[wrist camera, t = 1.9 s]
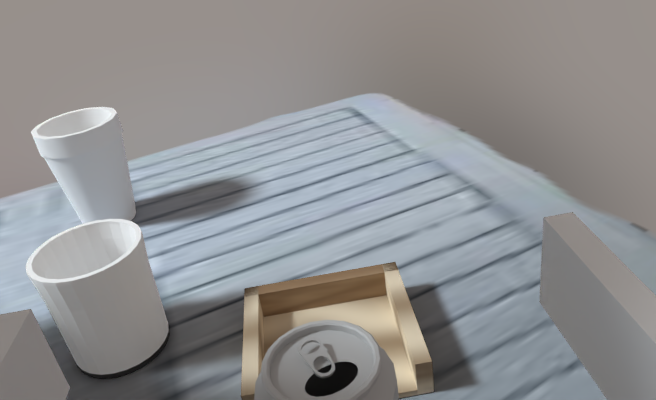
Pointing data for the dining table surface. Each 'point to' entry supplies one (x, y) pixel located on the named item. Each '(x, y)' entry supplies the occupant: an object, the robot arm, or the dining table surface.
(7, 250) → the dining table surface
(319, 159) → the dining table surface
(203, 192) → the dining table surface
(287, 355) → the can
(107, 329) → the mug
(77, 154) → the foam cup
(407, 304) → the holder
